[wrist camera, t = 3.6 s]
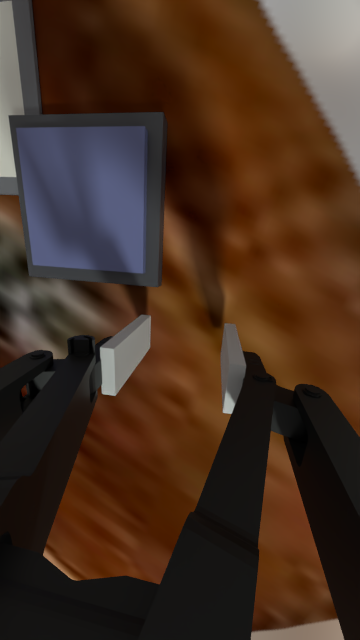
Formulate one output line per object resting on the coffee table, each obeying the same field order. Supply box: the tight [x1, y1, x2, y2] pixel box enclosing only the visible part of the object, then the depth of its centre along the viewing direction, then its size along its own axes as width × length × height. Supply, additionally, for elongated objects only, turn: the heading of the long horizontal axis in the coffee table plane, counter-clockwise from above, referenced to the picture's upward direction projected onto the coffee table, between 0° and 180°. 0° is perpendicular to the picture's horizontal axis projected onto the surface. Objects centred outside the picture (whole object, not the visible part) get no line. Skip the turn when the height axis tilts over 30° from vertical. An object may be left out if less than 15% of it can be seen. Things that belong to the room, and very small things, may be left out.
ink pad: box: [8, 112, 167, 287], centre depth 17 cm, size 11×11×2 cm
